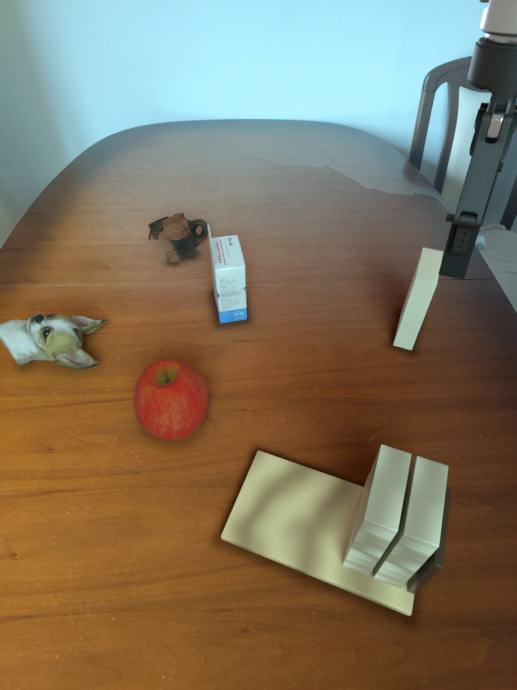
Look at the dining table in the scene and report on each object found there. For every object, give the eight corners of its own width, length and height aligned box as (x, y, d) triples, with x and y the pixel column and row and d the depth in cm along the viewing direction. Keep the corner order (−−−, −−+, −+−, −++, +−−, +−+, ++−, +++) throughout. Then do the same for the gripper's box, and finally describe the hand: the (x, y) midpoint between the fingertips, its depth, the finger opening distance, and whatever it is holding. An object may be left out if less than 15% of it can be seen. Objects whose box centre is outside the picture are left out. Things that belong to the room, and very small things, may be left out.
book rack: (424, 512, 55) (466, 453, 44) (409, 616, 48) (455, 577, 37) (257, 453, 61) (257, 387, 49) (221, 539, 53) (210, 484, 42)
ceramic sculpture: (-1, 292, 69) (100, 290, 70) (18, 331, 75) (110, 328, 77) (-23, 345, 62) (90, 341, 63) (1, 383, 68) (102, 378, 70)
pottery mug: (156, 269, 87) (139, 228, 84) (164, 259, 96) (149, 221, 93) (215, 250, 86) (199, 207, 83) (217, 242, 95) (204, 203, 92)
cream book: (418, 317, 78) (443, 251, 67) (411, 350, 73) (437, 284, 62) (400, 313, 79) (422, 246, 68) (392, 345, 74) (414, 279, 63)
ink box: (247, 320, 77) (245, 250, 66) (219, 324, 77) (212, 254, 66) (240, 288, 83) (237, 218, 72) (213, 291, 82) (206, 221, 71)
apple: (215, 389, 68) (209, 342, 60) (207, 451, 61) (199, 407, 53) (147, 387, 68) (132, 340, 60) (132, 448, 61) (113, 405, 53)
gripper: (491, 17, 50) (445, 201, 64) (457, 60, 34) (405, 294, 48) (568, 18, 47) (502, 209, 61) (572, 65, 31) (481, 312, 45)
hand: (460, 247), depth 55 cm, fingers open, 13 cm apart
